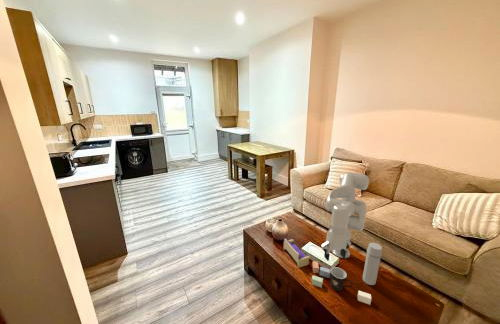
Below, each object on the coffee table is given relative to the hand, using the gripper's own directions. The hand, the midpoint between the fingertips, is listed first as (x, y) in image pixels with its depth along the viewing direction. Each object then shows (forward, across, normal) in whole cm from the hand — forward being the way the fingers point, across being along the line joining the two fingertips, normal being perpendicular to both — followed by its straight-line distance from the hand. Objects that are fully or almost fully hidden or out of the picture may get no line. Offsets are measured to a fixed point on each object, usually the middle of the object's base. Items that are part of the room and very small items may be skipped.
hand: (334, 257), depth 108 cm
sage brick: (+26, +2, -10) cm, 27 cm away
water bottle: (+25, -31, -5) cm, 40 cm away
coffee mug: (+26, -8, -4) cm, 27 cm away
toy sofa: (+26, +4, -34) cm, 43 cm away
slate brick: (+26, -6, -15) cm, 30 cm away
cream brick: (+26, -17, +6) cm, 32 cm away
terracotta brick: (+26, -3, -20) cm, 33 cm away
